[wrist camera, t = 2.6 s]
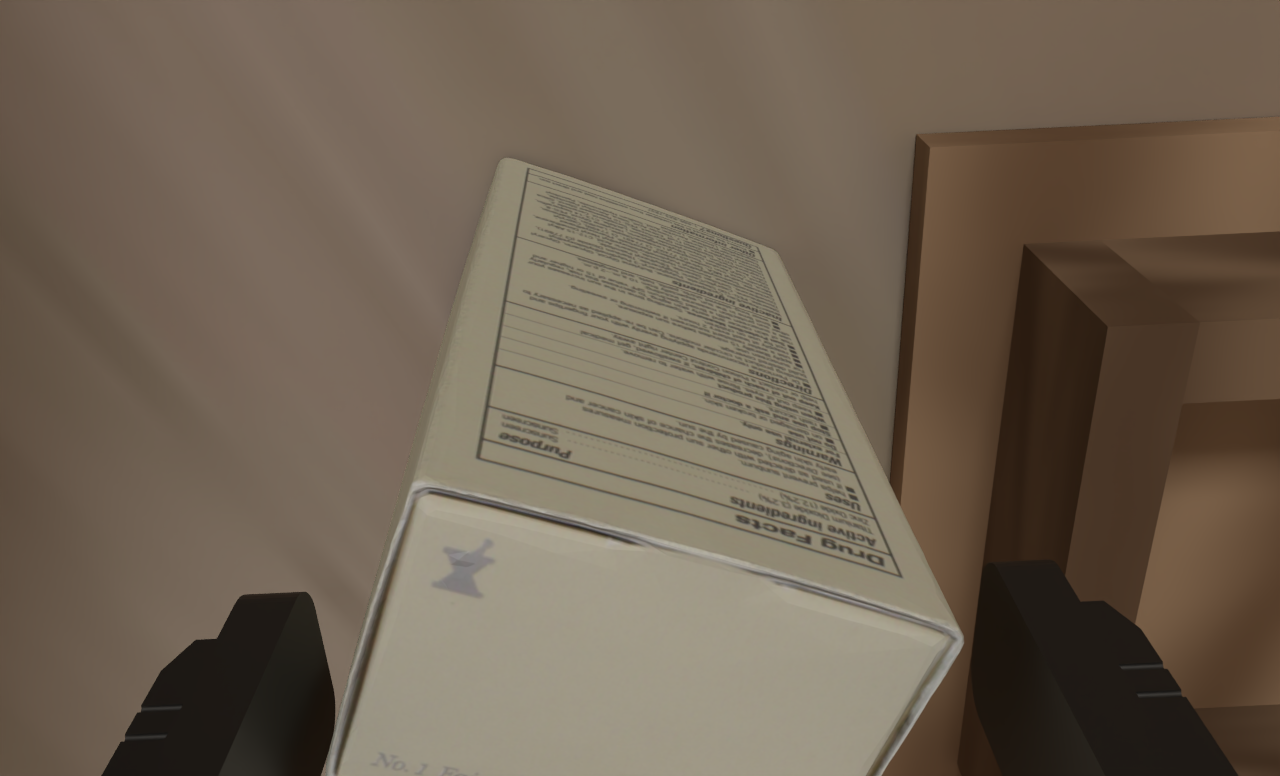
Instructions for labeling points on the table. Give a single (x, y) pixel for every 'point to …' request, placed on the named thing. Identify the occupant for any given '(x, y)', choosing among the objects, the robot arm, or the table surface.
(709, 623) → the skincare box
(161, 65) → the table surface
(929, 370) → the brown wooden tray
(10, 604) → the table surface
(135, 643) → the table surface
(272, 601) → the robot arm
